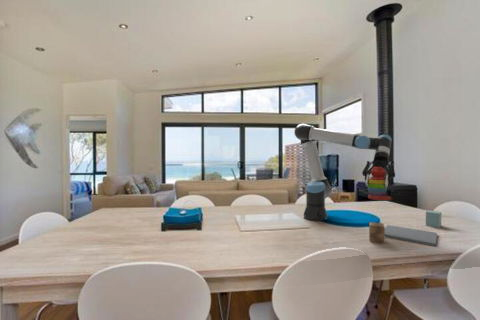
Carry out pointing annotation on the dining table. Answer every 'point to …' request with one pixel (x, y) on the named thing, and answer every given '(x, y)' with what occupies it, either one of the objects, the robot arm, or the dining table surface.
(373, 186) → the stacking bear
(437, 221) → the grey-teal block
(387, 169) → the robot arm
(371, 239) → the walnut block
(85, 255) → the dining table surface
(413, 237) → the slate board
